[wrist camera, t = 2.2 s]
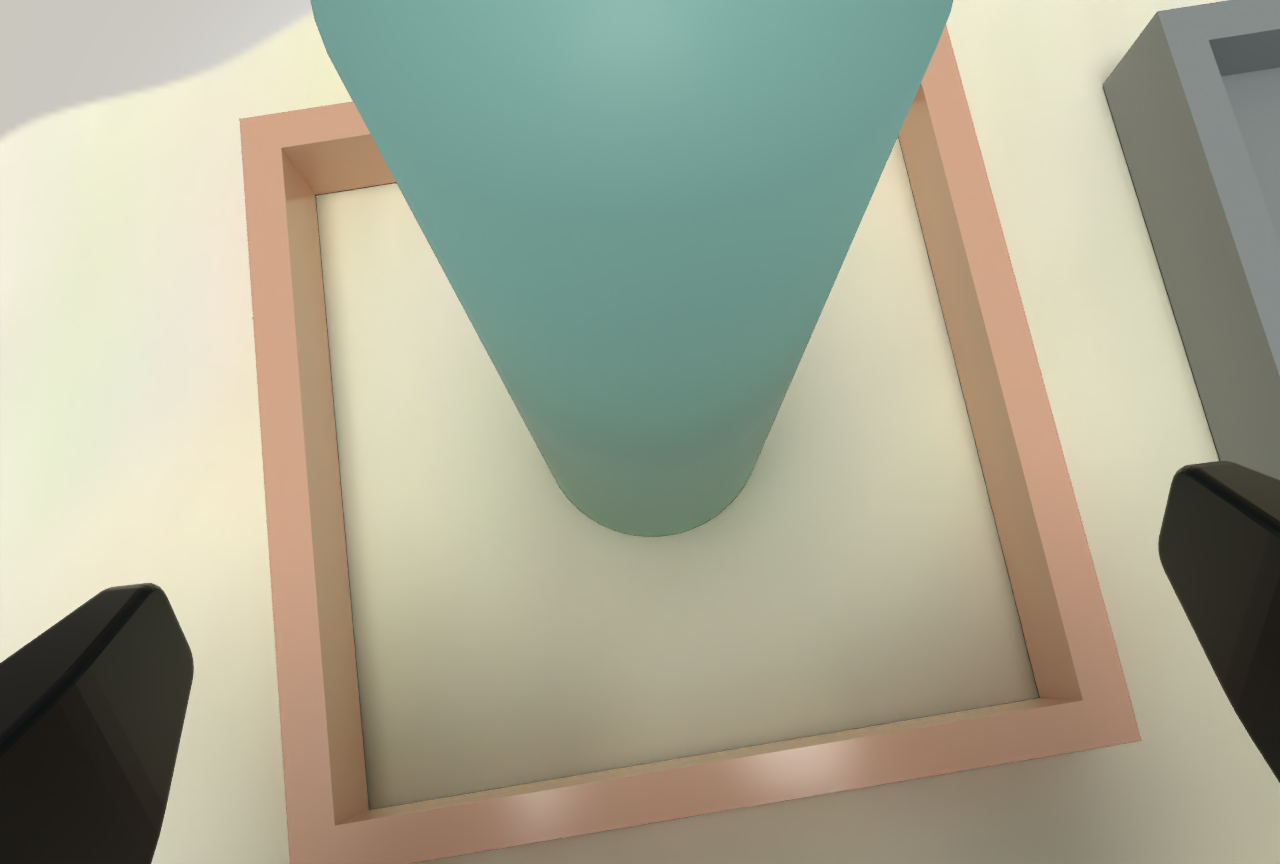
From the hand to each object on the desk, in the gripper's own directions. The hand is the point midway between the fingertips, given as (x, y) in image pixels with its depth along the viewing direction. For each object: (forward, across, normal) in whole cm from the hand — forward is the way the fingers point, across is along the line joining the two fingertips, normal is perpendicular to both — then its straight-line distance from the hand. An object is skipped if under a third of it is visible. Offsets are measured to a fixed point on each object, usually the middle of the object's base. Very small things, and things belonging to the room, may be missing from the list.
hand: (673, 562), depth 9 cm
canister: (+10, 0, +5) cm, 12 cm away
